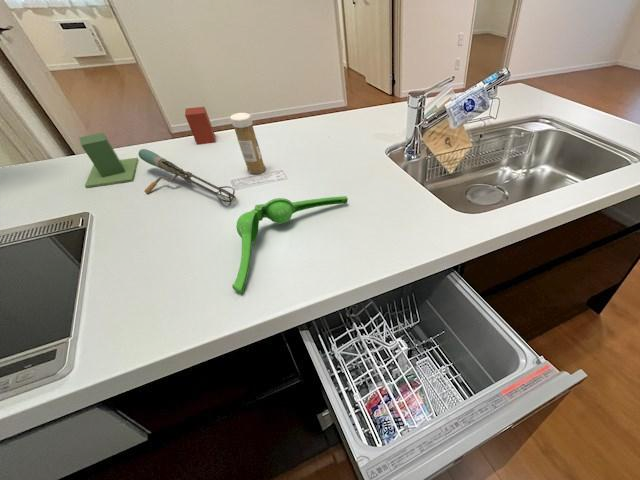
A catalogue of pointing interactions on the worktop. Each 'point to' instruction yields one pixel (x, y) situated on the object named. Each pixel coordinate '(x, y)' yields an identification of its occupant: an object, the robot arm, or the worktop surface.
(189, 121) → the red block
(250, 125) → the sprinkles bottle
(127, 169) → the sage mat
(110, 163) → the green block
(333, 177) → the worktop surface
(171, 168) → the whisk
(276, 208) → the lime squeezer
